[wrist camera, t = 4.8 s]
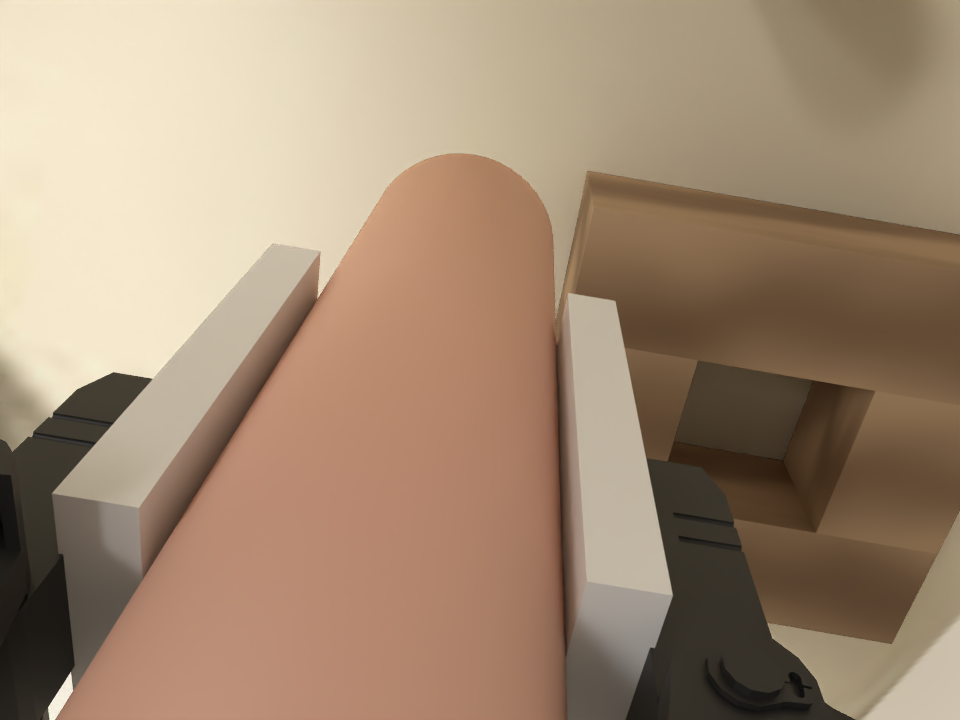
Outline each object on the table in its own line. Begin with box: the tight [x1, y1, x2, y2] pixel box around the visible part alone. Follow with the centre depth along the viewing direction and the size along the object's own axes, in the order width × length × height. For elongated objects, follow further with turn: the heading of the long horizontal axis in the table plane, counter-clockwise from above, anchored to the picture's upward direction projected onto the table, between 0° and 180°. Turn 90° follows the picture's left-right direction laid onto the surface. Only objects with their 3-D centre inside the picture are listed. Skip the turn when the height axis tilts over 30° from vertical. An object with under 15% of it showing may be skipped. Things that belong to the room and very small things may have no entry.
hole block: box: [556, 171, 960, 644], centre depth 29 cm, size 14×14×4 cm
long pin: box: [55, 154, 568, 720], centre depth 11 cm, size 4×4×15 cm
